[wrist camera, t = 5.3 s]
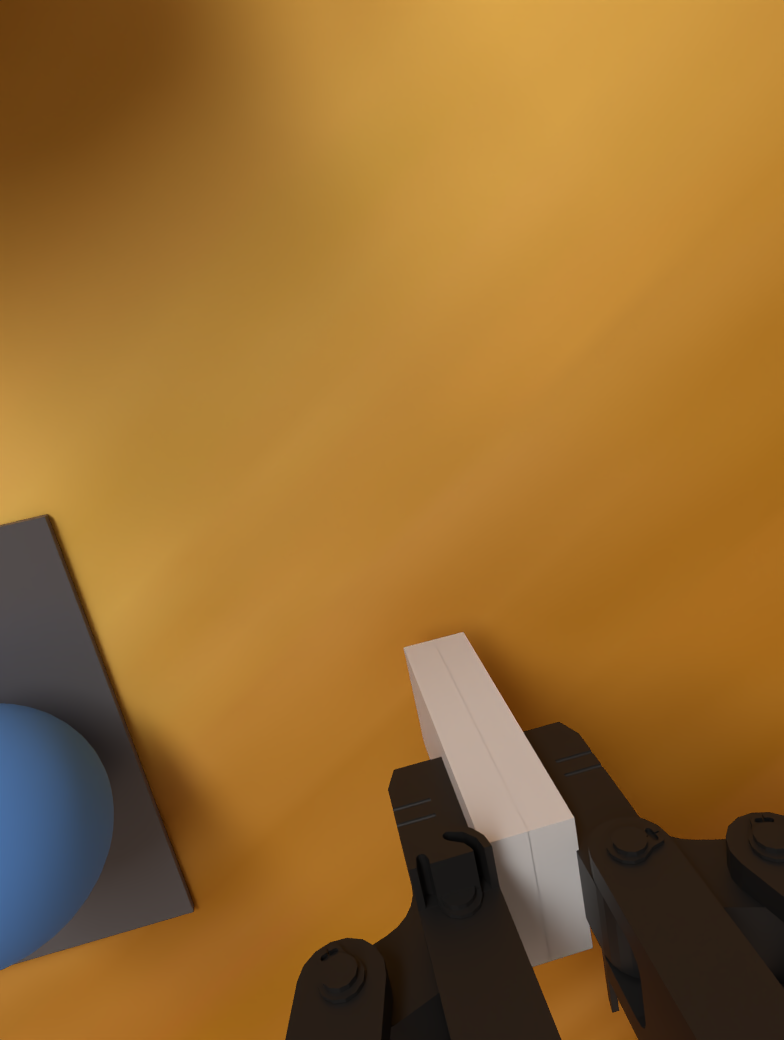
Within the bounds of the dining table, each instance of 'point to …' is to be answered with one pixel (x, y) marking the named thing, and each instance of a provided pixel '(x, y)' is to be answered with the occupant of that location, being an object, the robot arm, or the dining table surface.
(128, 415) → the dining table surface
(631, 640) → the dining table surface
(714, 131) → the dining table surface
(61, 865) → the ball
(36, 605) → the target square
